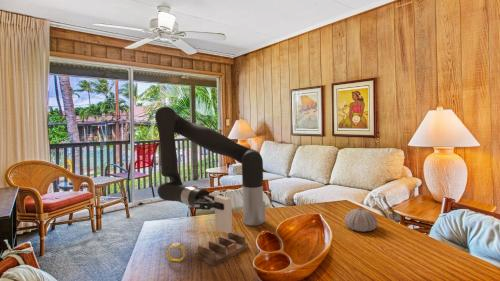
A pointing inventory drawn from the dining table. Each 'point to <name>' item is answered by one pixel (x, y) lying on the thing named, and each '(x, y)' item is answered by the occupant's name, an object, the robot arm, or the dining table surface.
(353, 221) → the sea urchin shell
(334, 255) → the dining table surface
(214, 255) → the rack
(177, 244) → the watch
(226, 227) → the panel
